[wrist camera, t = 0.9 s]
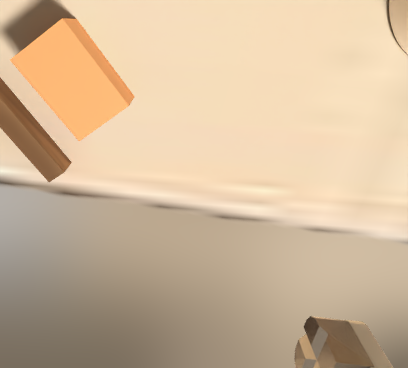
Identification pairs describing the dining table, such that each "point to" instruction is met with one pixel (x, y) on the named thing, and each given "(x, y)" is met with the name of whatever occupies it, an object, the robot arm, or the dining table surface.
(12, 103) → the walnut board
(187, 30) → the dining table surface
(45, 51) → the orange block
